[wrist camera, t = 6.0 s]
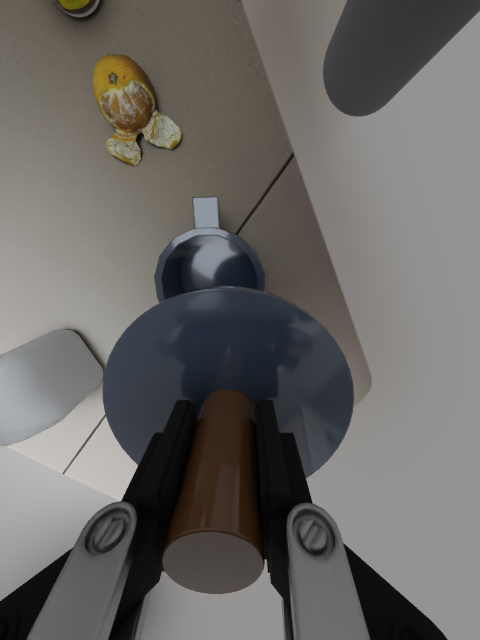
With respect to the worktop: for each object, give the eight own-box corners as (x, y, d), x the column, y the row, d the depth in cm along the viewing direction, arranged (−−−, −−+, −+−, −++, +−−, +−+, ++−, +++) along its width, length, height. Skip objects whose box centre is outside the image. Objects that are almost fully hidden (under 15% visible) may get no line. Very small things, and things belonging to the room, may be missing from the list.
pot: (259, 207, 27) (265, 193, 20) (259, 333, 32) (263, 358, 25) (169, 209, 27) (142, 196, 20) (182, 335, 32) (165, 360, 25)
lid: (361, 282, 10) (562, 342, 4) (330, 481, 14) (405, 680, 7) (92, 284, 10) (-151, 346, 4) (134, 479, 14) (43, 673, 8)
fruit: (120, 171, 26) (101, 160, 23) (83, 86, 24) (55, 58, 20) (186, 144, 25) (177, 127, 22) (154, 52, 23) (138, 17, 19)
